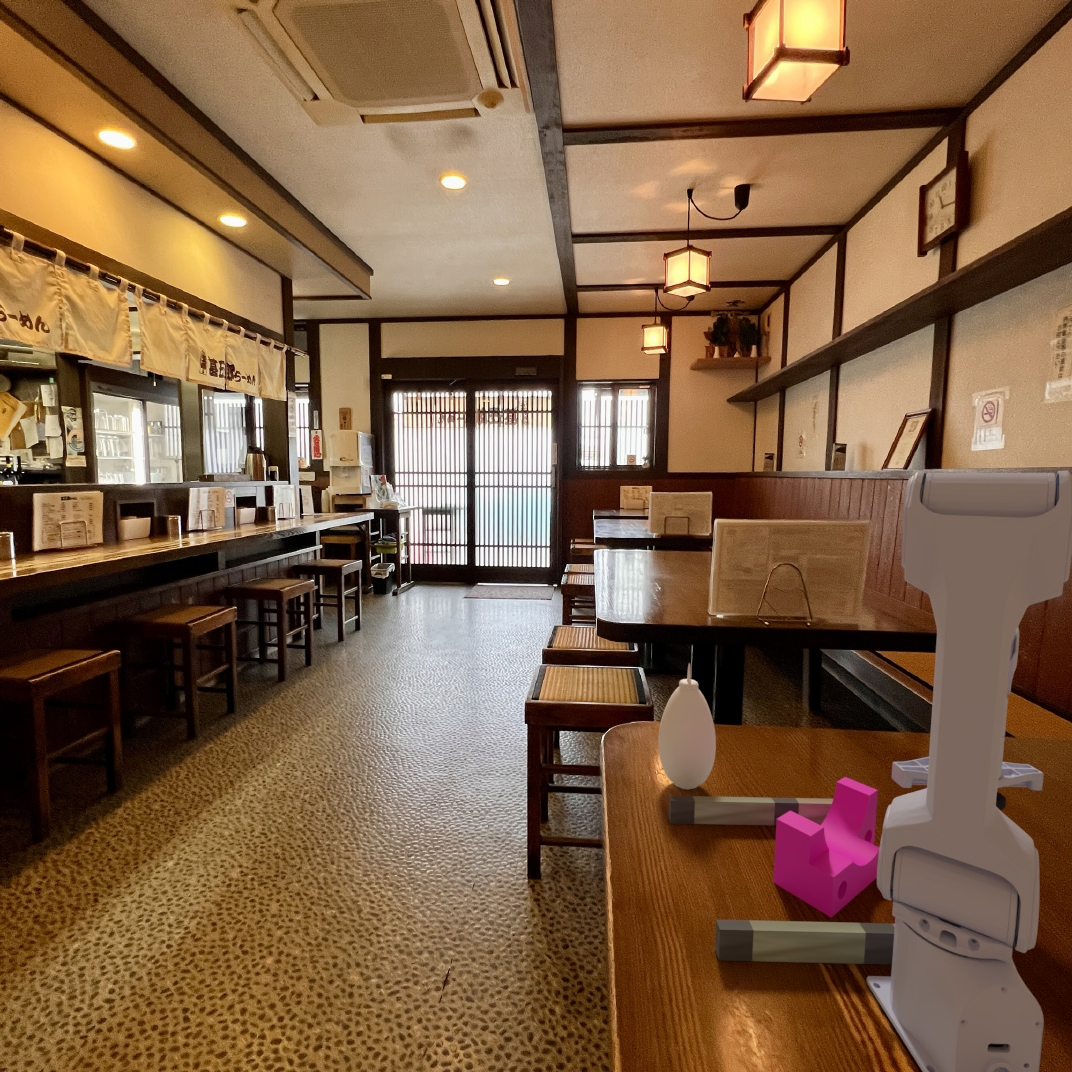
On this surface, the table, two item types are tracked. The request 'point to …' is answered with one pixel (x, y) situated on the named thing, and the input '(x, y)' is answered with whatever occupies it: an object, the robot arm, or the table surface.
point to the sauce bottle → (687, 736)
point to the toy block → (829, 850)
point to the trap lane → (783, 936)
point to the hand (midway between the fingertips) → (960, 848)
